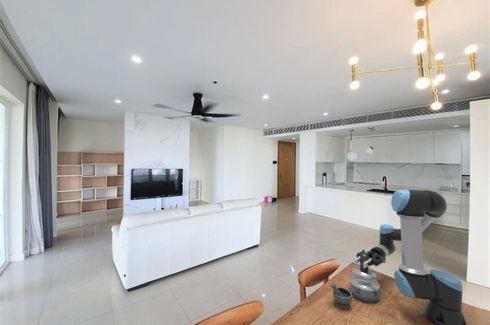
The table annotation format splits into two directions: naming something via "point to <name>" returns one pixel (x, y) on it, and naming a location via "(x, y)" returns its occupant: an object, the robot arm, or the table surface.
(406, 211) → the robot arm
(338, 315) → the table surface
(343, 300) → the mortar and pestle
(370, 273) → the steel lid
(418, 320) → the table surface
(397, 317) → the table surface
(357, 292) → the cooker pot
